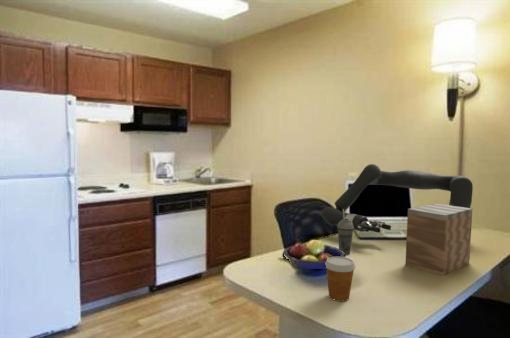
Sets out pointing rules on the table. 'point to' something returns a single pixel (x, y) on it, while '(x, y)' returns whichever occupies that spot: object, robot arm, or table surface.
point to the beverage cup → (345, 235)
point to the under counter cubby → (438, 237)
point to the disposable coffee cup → (339, 277)
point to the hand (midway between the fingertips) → (385, 229)
